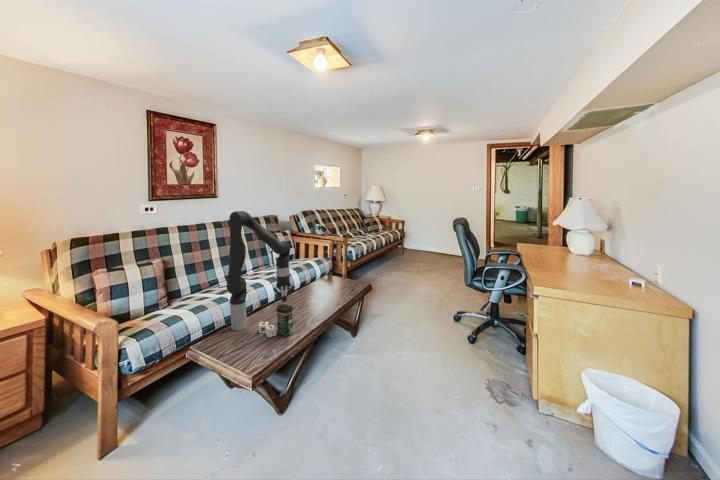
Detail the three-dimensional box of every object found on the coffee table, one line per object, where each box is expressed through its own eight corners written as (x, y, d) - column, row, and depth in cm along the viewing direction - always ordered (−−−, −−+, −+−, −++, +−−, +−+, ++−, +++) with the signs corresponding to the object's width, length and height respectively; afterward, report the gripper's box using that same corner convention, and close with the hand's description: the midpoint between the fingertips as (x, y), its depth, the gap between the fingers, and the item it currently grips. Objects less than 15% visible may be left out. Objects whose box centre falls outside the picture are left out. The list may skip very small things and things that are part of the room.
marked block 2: (268, 338, 174) (268, 330, 173) (265, 334, 179) (265, 326, 179) (277, 336, 177) (276, 328, 176) (273, 332, 182) (273, 324, 181)
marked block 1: (259, 333, 180) (258, 325, 179) (260, 329, 185) (260, 321, 184) (267, 332, 181) (266, 325, 180) (268, 329, 186) (268, 321, 185)
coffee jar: (275, 334, 180) (273, 305, 176) (283, 328, 186) (282, 301, 183) (287, 337, 175) (285, 308, 172) (295, 332, 182) (294, 304, 179)
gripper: (272, 277, 168) (273, 305, 171) (295, 274, 173) (296, 302, 176) (270, 273, 175) (272, 301, 178) (292, 271, 180) (293, 298, 183)
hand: (284, 301), depth 177 cm, fingers closed
